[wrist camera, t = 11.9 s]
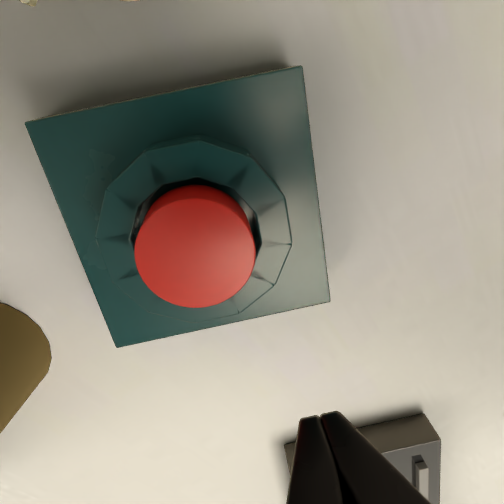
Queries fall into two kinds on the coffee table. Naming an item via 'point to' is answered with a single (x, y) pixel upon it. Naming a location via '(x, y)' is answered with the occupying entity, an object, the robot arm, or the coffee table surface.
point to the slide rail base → (404, 451)
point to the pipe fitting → (32, 1)
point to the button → (195, 247)
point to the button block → (190, 173)
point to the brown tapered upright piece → (19, 360)
